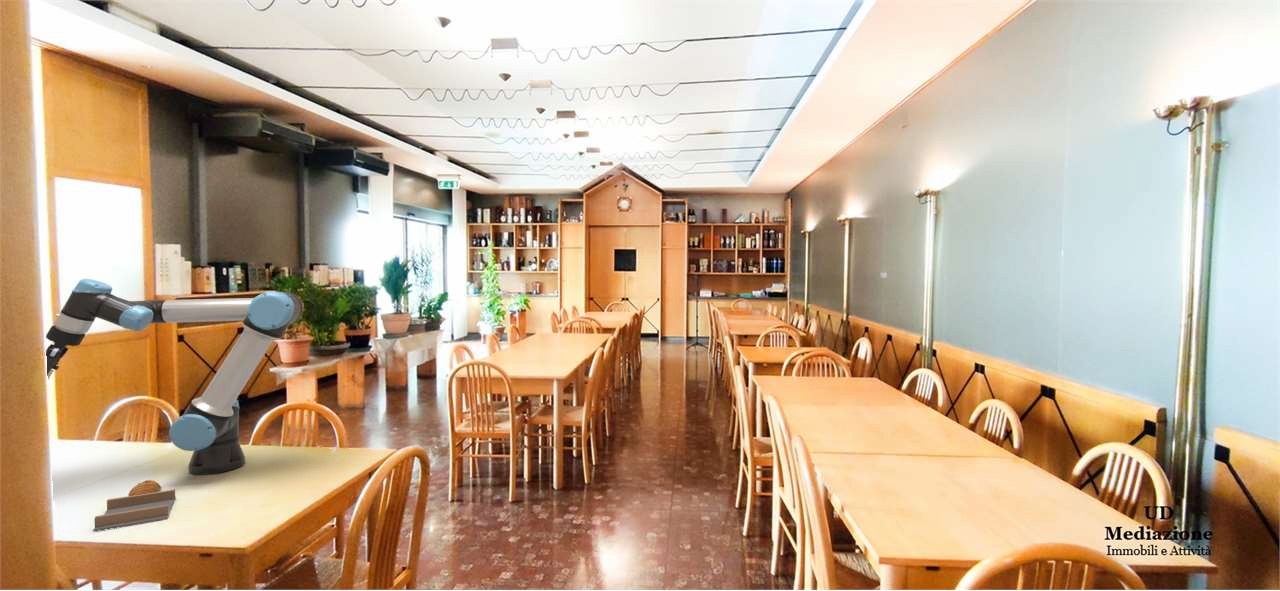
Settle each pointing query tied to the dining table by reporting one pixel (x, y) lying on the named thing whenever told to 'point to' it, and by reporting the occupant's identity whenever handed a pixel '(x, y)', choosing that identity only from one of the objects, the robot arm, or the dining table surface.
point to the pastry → (145, 488)
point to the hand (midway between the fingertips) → (29, 396)
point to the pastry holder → (136, 510)
